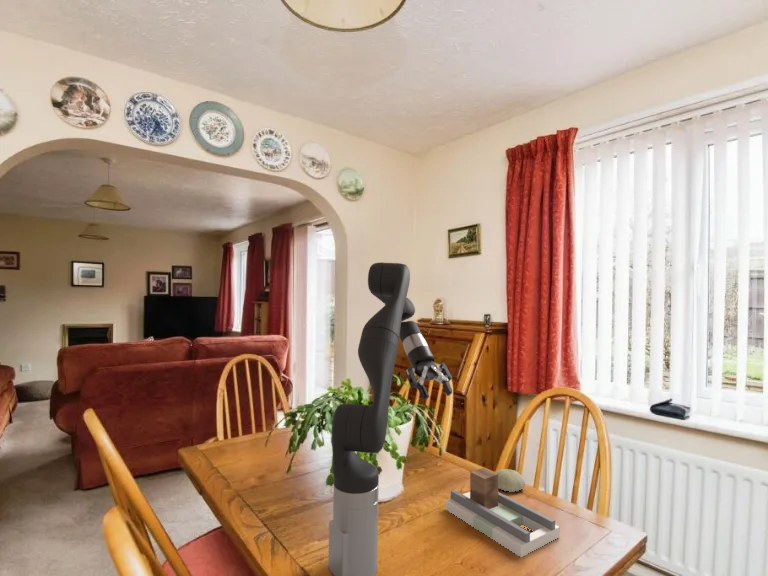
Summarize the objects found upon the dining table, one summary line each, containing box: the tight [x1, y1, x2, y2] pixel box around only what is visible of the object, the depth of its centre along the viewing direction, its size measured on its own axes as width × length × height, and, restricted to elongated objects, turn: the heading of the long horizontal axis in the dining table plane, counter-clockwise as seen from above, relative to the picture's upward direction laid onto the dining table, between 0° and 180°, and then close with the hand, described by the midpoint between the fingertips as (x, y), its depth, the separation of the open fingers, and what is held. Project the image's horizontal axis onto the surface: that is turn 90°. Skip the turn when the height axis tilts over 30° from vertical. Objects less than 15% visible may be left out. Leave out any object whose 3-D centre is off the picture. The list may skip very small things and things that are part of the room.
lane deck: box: [444, 489, 561, 558], centre depth 103 cm, size 14×24×4 cm, turn 34°
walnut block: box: [469, 467, 499, 509], centre depth 107 cm, size 5×5×8 cm
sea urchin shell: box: [494, 468, 526, 493], centre depth 123 cm, size 9×8×8 cm
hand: (438, 396), depth 124 cm, fingers open, 8 cm apart
